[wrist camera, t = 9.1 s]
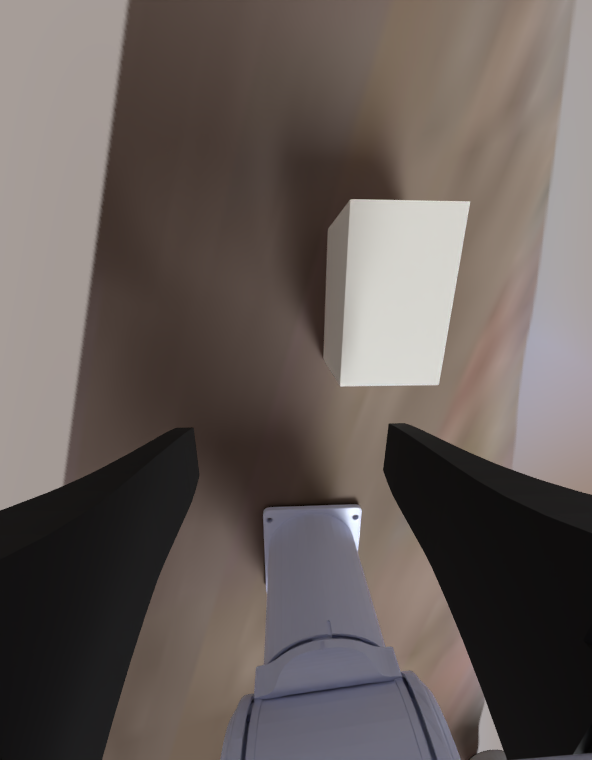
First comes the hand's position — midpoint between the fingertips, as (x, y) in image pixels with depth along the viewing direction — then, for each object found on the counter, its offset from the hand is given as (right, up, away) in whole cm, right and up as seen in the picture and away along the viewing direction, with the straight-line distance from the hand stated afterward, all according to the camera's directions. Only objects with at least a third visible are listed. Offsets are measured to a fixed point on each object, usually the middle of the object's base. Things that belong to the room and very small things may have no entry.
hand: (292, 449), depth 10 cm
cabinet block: (+4, +8, +8) cm, 12 cm away
